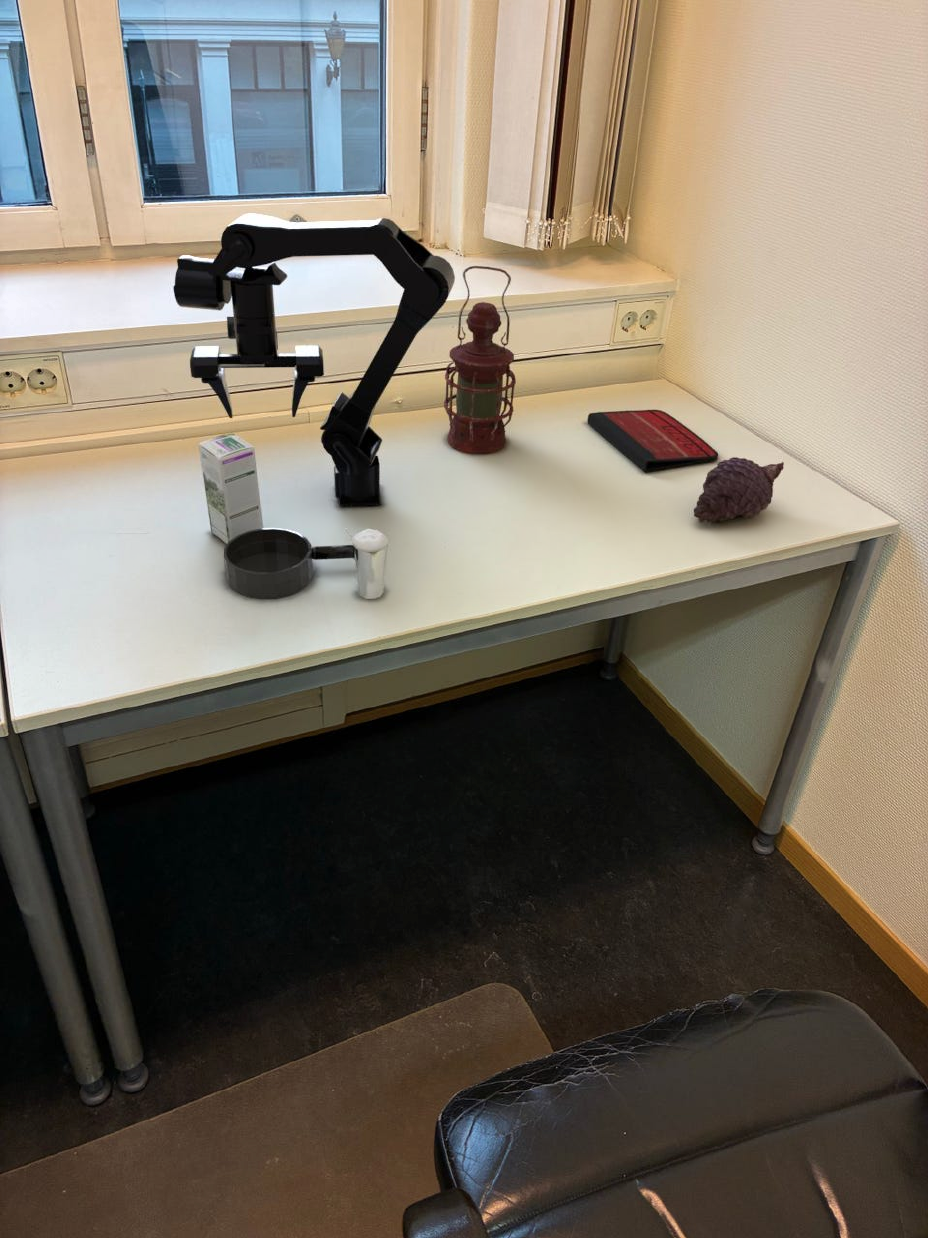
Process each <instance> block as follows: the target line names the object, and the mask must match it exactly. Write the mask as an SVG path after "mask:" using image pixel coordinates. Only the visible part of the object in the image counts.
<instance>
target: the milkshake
mask: <svg viewBox="0 0 928 1238" xmlns="http://www.w3.org/2000/svg"><path fill="white" fill-rule="evenodd" d="M345 531H346V533H347V535H348V536H349V538H350V540H351V542H352V545H353V549H354V556H355V558H354V564H355V573H356V583H357V593H358V594H359V596H360V597H361V598H364V599H365V600H376V599H378V598H381V597H382V595H383V594H384V587H385V575H386V563H387V554H388V546H389V545H388V544H389V540H388V537H387V536H386V535H385V534H384V533H383V532H381V531H380V530H377V529H371V528H366V529H364V530H362V531H359V532H358V533H356V534H355V535H354V536H353V537H352V536H351V534H350V532H349V530H348V528H347V527H345Z"/></svg>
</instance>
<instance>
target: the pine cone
mask: <svg viewBox="0 0 928 1238" xmlns="http://www.w3.org/2000/svg"><path fill="white" fill-rule="evenodd" d="M784 466H785V463H784V461H782V462H778V463H770V464H767V465H764V466H760V465H759V464H758V463H756V462H754V460H752V459H747V458H745V457H743V458H740V457H737V456H735V457H734V456H733V457H730V458H729V459H723V460H722V461H718V463H717V464H716V466H715V467H714V468H713V469H711V470H709V471H707V473H706V477H705V481H704V482H703V484H702V490H703V492H702V493H701V494H699V496H698V500H697V501H696V506H695V507H694V508H693V516H694V518H697V519H698V522H699V523H703V522H706V523H715V522H717V521H719V522H725V521H727V520H732V519H735V518H736V517H737V516H740V515H741V516H743V518H746V519H749V518H750V517H751V516H757V515H759V514H760V513H761V512H762V511H763V510H766V509H767V508H768V507H769V505H770V504H772V502H773V501H772V499H773V494H774V487H773V486H774V483H775V480H776V479H778V477H779V476H780V475H781V472H782V471H783V470H784Z"/></svg>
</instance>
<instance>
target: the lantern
mask: <svg viewBox="0 0 928 1238" xmlns="http://www.w3.org/2000/svg"><path fill="white" fill-rule="evenodd" d="M473 269H480V270H491V271H496V272H501V273H503V274H504V275H505V276H506V277H507V278H508V279H507V284H506V286H505V288H504V290H503V292H502V295H501V305H502V309H503V310H504V313H505V315H506V332H504V334H503V336H502V337H501V338H500V342H501V345H502V346H501V345H499V344H498V343H496V342H494V341H493V337H494V335H495V334H496V333H497V332H499V329H500V327H501V326H502V320H501V315H500V313H499V312H498V310H497V307H496V305H495V304H493V303H491V302H486V301H484V302H483V301H481V302H477V303H475V304H474V305H473V306H472V309H471V310H470V312H468V315H467V318H466V320H465V323H466V324H467V329H468V331H470V332H471V333H472V341H468V342H465V343H463V340H464V339H465V338H466V333H465V331H464V327H463V326H462V316H463V312H464V309H465V307H466V306H467V304H468V302H469V299H470V295H471V294H470V288H469V285H468V282H467V279H466V278H467V277H466V273H467V272H468V271H470V270H473ZM462 278H463V281H464V283H465V287H466V289H467V296H466V300H465V302H464V304H463V305H462V307H461V308H460V311H459V315H458V324H457V325H458V326H457V328H458V329H457V339H458V340H459V344H458V345H456V346H454V347H452V348H451V349H450V350H449V358H450V359H451V360H452V362H450V363H448V365H447V366H446V369H445V374H444V379H445V384H446V385H445V399H444V401H443V408H444V410H445V413H446V414H447V415H448V420H449V431H448V434H447V437H446V441H447V443H448V445H449V447H452V448H453V449H455V450H457V451H459V452H462V453H465V454H474V455H475V454H476V455H488V454H493V453H497V452H498V451H501V450H502V449H504V448H505V446H506V443H507V439H506V429H505V427H506V426H507V425H508V424H509V423H510V422H511V420H512V418H513V413H514V410H515V409H514V406H513V403H514V393H515V388H516V387H515V386H516V384H517V379H516V376H515V373H514V372H513V370H511V366H510V365H511V364H512V363H513V362H514V360H515V354H514V353H513V351H511V350H510V349H508V348H506V346H507V345H508V344H509V341H510V324H511V322H510V315H509V313H508V311H507V308H506V306H505V301H504V297H505V294H506V292H507V290H508V288H509V286H510V285H511V281H512V277H511V275H510V274H509V272H507V271H506V270H504V269H502V268H499V267H491V266H483V265H482V266H481V265H472V266H469V267H466V268H465V269H463V272H462ZM461 326H462V327H461ZM461 331H462V334H463V337H461ZM505 336H506V338H505ZM504 338H505V339H506V342H503V339H504ZM453 364H454V367H452V368H450V367H451V366H452V365H453ZM456 374H457V383H455V379H454V377H455V375H456ZM504 375H505V379H506V380H505V386H504V385H503V384H504V383H503V382H504ZM509 379H511V381H510V380H509ZM509 381H510V383H509ZM454 388H455V389H456V393H455V394H453V392H454V390H453V389H454ZM449 389H450V390H449ZM509 389H511V393H510V399H508V398H509V396H508V392H509ZM449 391H450V392H449ZM503 392H504V397H503ZM454 399H455V409H456V412H454V411H453V400H454ZM502 403H503V410H502V412H501V409H502ZM507 407H509V409H508V411H507V412H506V410H507ZM507 417H508V419H507V420H506V422H505V423H504V420H503V419H506V418H507Z"/></svg>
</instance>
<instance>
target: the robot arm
mask: <svg viewBox="0 0 928 1238" xmlns="http://www.w3.org/2000/svg"><path fill="white" fill-rule="evenodd" d="M220 246H221V249H220V250H219V252H218V253H217V255H216V257H214V258H204V257H203V258H202V257H195V256H192V255H186V254H183V255H181V256H180V257H178V258H177V259H176V264H177V269H176V271H175V276H174V285H173V294H174V298H175V301H176V304H177V305H178V306H179V307H180V308H189V309H197V310H198V309H200V310H210V311H222V310H223V309H224V307H225V305H226V304H227V305H228V304H230V303H231V304H232V313H233V315H232V316H226V327H227V329H226V330H227V339H229V340H235V344H236V345H235V347H236V353H221V347H220V345H195V346H194V348H193V349H192V350H191V354H190V358H189V370H190V376H191V378H194V379H201V383H202V384H208V385H209V387H210V388H211V389H212V390H213V392H214V393H215V395H216V396H217V397H218V400H220V402H221V404H222V406H223V408H224V410H225V412H226V413H227V416H228V417H229V419H233V417H234V414H233V413H234V412H233V411H234V410H233V404H232V399H231V396H230V395H231V394H230V391H229V386H228V383H227V382H228V381H227V375H226V369H238V368H239V369H252V368H253V369H257V368H259V369H260V368H261V369H262V368H264V369H266V368H268V369H269V368H294V369H293V384H292V395H291V397H292V398H291V417H292V418H295V417H296V415H297V412H298V408H299V405H300V404H301V403H300V402H301V399H302V396H303V394H304V392H305V391H306V388H307V386H308V384H309V383H314V382H316V378H321V377H323V376H324V375H325V369H324V367H325V366H324V355H323V352H324V351H323V349H322V348H321V347H320V346H319V345H295V346H294V349H295V353H278V350H279V341H278V332H277V326H276V312H275V300H274V286H281V284H283V282H285V281H286V279H287V278H288V274H287V273H286V272H285V271H284V270H282V269H281V268H280V267H279V266H278V265H277V264H276V262H278V261H281V260H284V259H289V258H294V257H296V258H297V257H330V256H331V257H334V256H335V257H336V256H341V257H342V256H374V257H375V258H376V259H378V261H380V262H381V264H382V265H383V267H384V268H385V269H386V270H387V272H388V273H389V275H390V276H391V277H392V279H393V280H394V281H395V283H397V284H398V285H399V286H400V287H401V288H402V289H403V292H402V295H401V297H400V300H399V305H398V308H397V312H396V315H395V317H394V320H393V322H392V324H391V326H390V328H389V330H387V331H388V332H387V333H386V335H385V337H384V338H383V340H382V342H381V344H380V346H379V348H378V349H377V351H376V352H375V354H374V356H373V358H372V360H371V362H370V363H369V365H368V367H367V368H366V370H365V373H364V374H363V376H362V377H361V380H360V382H359V383H358V385H357V387H356V389H355V390H353V392H352V393H351V394H350V395H347V394H345V393H344V392H342V391H340V392H339V394H338V396H337V398H336V399H335V401H334V403H333V404H332V406H331V408H330V411H329V412H328V414H327V416H326V417H325V419H324V420H323V422H322V424H321V426H320V427H319V430H321V431H322V434H321V437H320V442H321V444H322V447H323V449H324V450H325V452H326V453H327V454H328V455H330V457H331V460H332V461H333V464H334V467H333V479H334V481H333V483H334V497H335V498H336V499H338V506H339V507H366V506H367V507H370V506H372V507H373V506H381V505H382V498H381V491H380V489H381V487H380V485H381V484H380V483H381V481H380V478H381V475H380V473H381V471H380V460H379V455H377V454H378V452H379V450H380V448H381V445H382V444H383V443H382V442H383V439H382V437H380V436H379V434H378V433H377V432H376V431H374V429H373V428H372V427H371V426H370V425H371V423H372V419H373V417H374V412H375V409H376V405H377V404H378V402H379V400H380V398H381V397H382V395H383V393H384V392H385V389H386V388H387V386H388V384H389V383H390V381H391V379H392V378H393V376H394V374H395V372H396V371H397V369H398V367H399V366H400V364H401V362H402V361H403V359H404V357H405V356H406V353H407V352H408V350H409V348H410V347H411V345H412V343H413V342H414V340H415V338H416V336H417V335H418V334H419V332H420V331H421V330H422V329H423V328H424V327H425V326H426V325H427V324H428V323H430V321H431V320H432V319H433V318H434V317H435V316H436V314H437V313H438V312H439V311H440V310H441V309H442V307H443V306H444V305H445V304H446V302H447V300H448V298H449V296H450V293H451V291H452V289H453V287H454V284H455V280H456V276H455V272H454V269H453V267H452V265H451V264H450V262H449V261H448V260H446V258H444V257H442V256H439V255H435V254H433V253H432V252H431V251H430V250H429V249H428V248H427V247H425V245H424V244H422V243H421V242H419V241H418V240H416V239H415V238H413V237H412V236H410V235H409V234H408V233H406V232H405V231H404V230H402V229H401V227H400V226H398V225H397V224H396V223H395V221H394V220H391V219H390V218H387V217H381V218H378V219H375V220H373V219H372V220H343V221H342V220H339V221H306V222H302V221H301V222H294V221H288V220H286V219H285V220H284V219H283V218H282V219H281V218H279V217H277V216H272V215H264V214H259V213H253V212H251V213H250V212H249V213H246V214H243V215H242V216H240V217H238V218H237V219H236V220H234V221H233V222H232V223H230V224H228V226H226V227H225V228H224V230H223V232H222V234H221V237H220ZM265 265H268V266H267V267H261V266H265ZM236 268H239V269H244V270H235V269H236Z"/></svg>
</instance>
